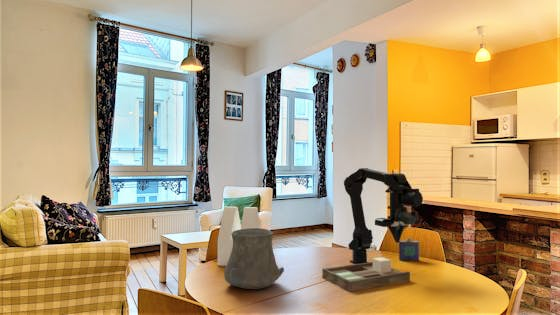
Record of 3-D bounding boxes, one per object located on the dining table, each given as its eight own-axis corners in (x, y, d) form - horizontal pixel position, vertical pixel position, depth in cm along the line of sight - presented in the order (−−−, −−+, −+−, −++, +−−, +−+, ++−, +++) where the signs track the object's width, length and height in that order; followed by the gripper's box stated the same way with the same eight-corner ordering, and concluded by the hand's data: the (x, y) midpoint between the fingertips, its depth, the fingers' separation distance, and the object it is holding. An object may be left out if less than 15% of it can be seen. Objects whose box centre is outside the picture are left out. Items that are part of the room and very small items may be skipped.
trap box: (322, 277, 145) (322, 268, 145) (378, 269, 157) (378, 261, 157) (349, 291, 129) (349, 281, 129) (409, 281, 141) (409, 272, 141)
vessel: (277, 298, 122) (277, 238, 123) (214, 293, 127) (215, 235, 127) (289, 278, 144) (289, 227, 144) (235, 275, 148) (235, 225, 149)
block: (372, 269, 148) (372, 258, 148) (382, 268, 150) (382, 257, 150) (380, 273, 143) (380, 261, 143) (390, 271, 145) (390, 260, 145)
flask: (418, 259, 173) (418, 237, 174) (420, 261, 170) (420, 238, 171) (398, 259, 174) (398, 236, 174) (400, 261, 171) (399, 238, 171)
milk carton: (231, 255, 182) (231, 204, 182) (261, 256, 179) (261, 205, 180) (217, 265, 163) (217, 209, 163) (251, 267, 160) (251, 209, 161)
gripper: (393, 207, 139) (393, 248, 139) (429, 205, 147) (429, 244, 147) (373, 204, 149) (373, 243, 149) (408, 202, 157) (408, 239, 157)
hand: (397, 242), depth 150 cm, fingers closed
